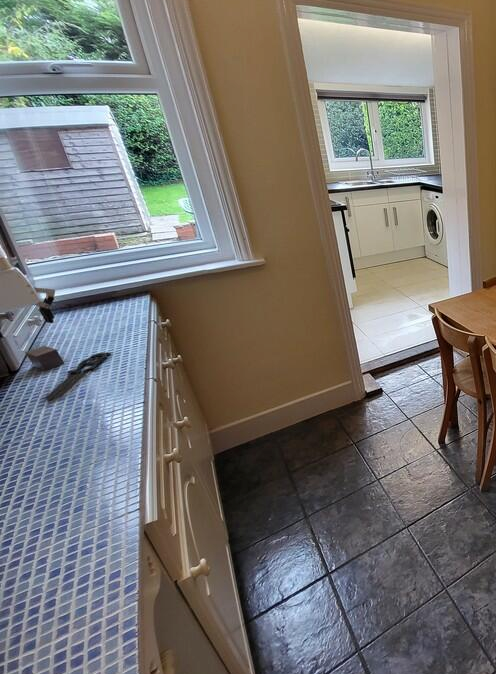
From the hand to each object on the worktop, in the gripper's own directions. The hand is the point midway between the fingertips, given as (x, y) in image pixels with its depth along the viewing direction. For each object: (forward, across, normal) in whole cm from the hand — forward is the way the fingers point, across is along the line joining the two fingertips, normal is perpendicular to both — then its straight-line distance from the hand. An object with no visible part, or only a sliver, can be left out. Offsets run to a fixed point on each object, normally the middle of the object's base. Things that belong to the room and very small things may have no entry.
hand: (25, 329), depth 108 cm
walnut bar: (+11, 0, -1) cm, 11 cm away
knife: (+12, 0, +18) cm, 22 cm away
